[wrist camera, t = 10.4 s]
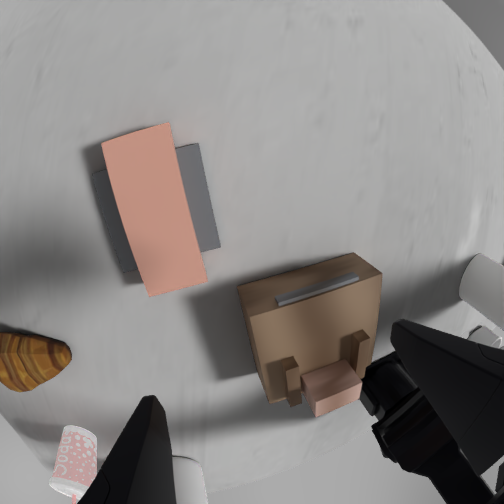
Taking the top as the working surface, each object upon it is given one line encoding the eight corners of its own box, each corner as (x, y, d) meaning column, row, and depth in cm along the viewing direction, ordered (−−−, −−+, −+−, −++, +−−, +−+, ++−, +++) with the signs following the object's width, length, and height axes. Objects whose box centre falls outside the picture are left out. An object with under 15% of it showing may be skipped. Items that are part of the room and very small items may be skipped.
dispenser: (353, 249, 22) (408, 289, 16) (350, 339, 26) (387, 385, 20) (236, 282, 21) (262, 344, 14) (257, 372, 25) (280, 431, 19)
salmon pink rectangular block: (169, 124, 15) (168, 122, 14) (205, 270, 19) (208, 281, 18) (108, 142, 14) (101, 143, 13) (151, 285, 19) (149, 296, 17)
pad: (198, 143, 16) (198, 143, 16) (220, 244, 19) (221, 247, 19) (93, 173, 15) (92, 174, 15) (124, 270, 18) (123, 272, 18)
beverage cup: (90, 423, 23) (84, 528, 11) (109, 447, 26) (110, 538, 13) (50, 419, 22) (35, 514, 9) (71, 444, 24) (65, 529, 12)
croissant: (56, 311, 18) (35, 350, 14) (88, 370, 21) (78, 410, 16) (-32, 323, 16) (-53, 352, 11) (-2, 372, 18) (-16, 403, 14)
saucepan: (481, 354, 45) (495, 367, 40) (439, 376, 39) (456, 394, 34) (503, 313, 41) (519, 325, 36) (468, 326, 35) (488, 343, 30)
